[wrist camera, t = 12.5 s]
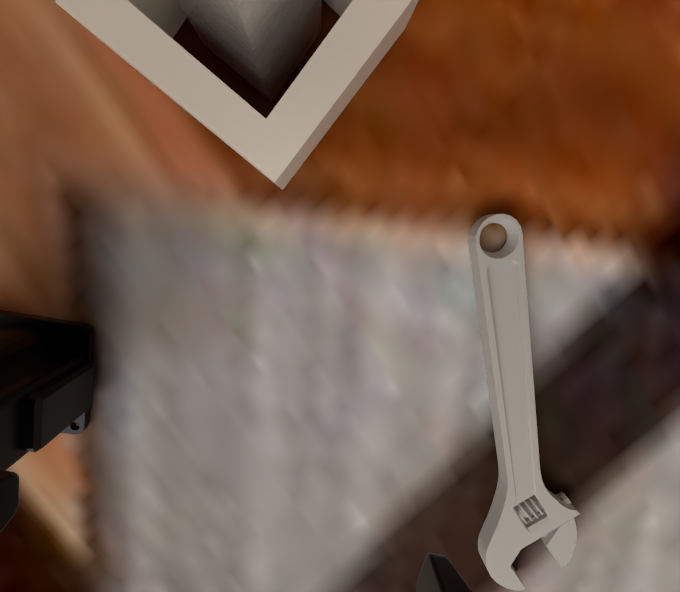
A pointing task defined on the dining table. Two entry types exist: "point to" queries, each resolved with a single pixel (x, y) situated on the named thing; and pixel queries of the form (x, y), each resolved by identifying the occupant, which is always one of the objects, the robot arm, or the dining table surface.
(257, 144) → the socket block
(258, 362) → the dining table surface
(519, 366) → the adjustable wrench
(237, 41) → the steel peg
